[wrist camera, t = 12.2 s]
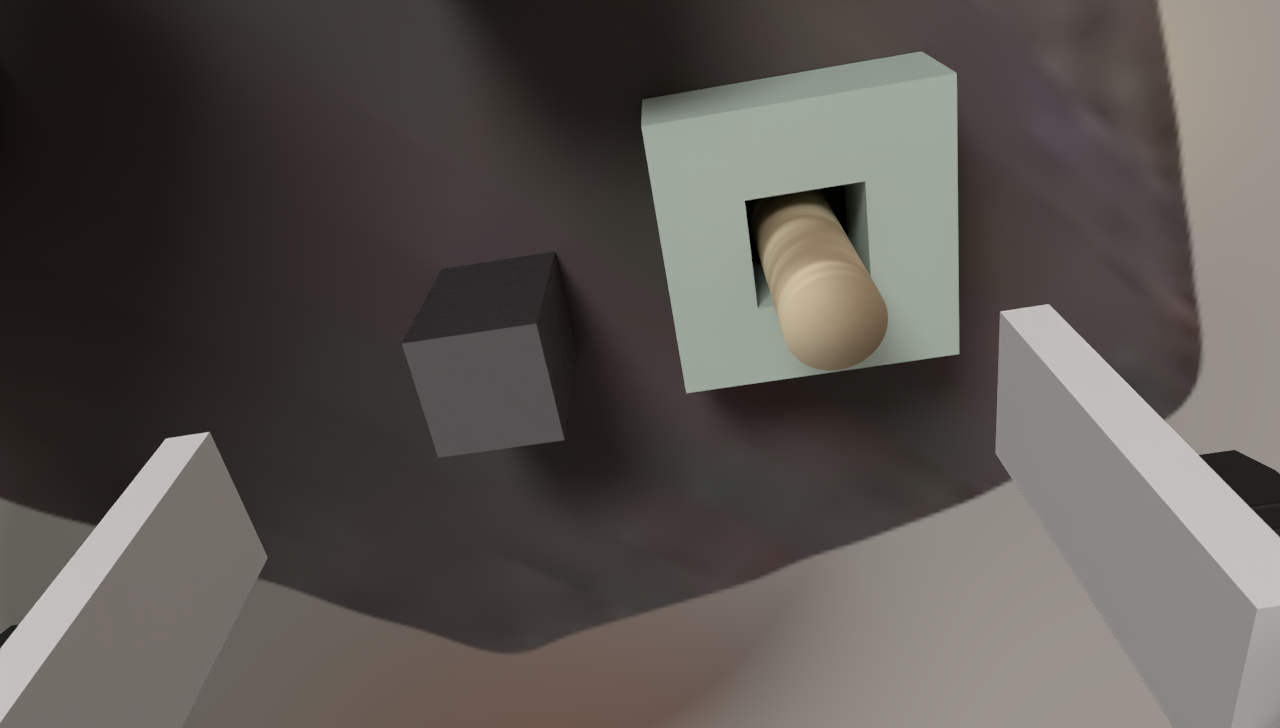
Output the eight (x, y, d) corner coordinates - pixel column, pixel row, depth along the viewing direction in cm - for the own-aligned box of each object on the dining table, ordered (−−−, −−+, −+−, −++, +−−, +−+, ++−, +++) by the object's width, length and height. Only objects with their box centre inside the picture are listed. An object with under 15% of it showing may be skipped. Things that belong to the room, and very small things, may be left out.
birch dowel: (754, 256, 43) (789, 378, 32) (743, 183, 41) (776, 285, 31) (830, 242, 43) (891, 361, 32) (822, 168, 41) (884, 267, 30)
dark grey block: (470, 369, 46) (438, 457, 39) (442, 269, 43) (401, 343, 36) (577, 353, 46) (564, 440, 38) (555, 251, 43) (536, 323, 36)
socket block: (682, 343, 45) (686, 393, 41) (642, 99, 40) (641, 126, 35) (928, 306, 44) (959, 354, 40) (921, 51, 39) (956, 73, 34)
